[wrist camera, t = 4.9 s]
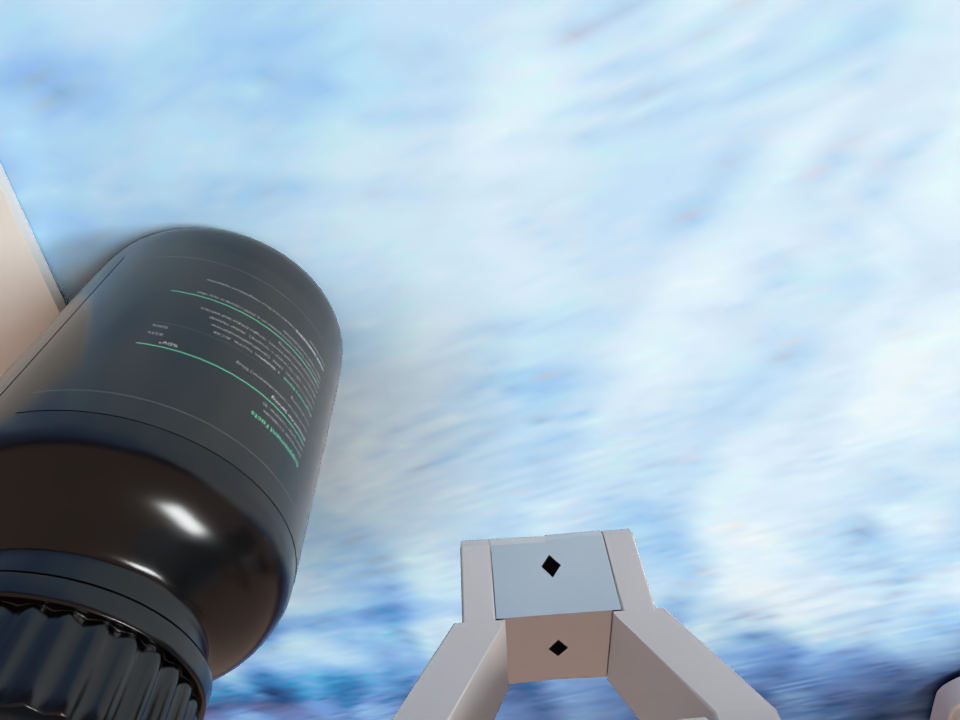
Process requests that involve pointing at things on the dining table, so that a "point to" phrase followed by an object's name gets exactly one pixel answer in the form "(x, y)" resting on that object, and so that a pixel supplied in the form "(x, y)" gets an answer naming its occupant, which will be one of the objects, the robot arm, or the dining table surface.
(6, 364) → the mat
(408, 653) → the dining table surface
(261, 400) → the supplement bottle
